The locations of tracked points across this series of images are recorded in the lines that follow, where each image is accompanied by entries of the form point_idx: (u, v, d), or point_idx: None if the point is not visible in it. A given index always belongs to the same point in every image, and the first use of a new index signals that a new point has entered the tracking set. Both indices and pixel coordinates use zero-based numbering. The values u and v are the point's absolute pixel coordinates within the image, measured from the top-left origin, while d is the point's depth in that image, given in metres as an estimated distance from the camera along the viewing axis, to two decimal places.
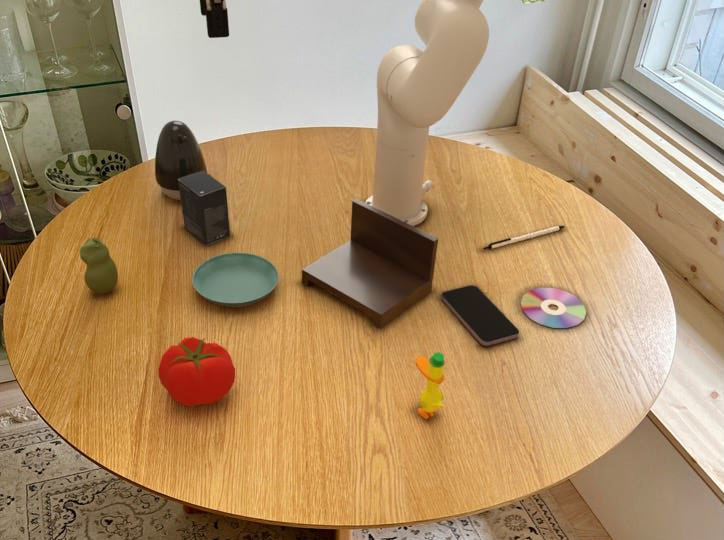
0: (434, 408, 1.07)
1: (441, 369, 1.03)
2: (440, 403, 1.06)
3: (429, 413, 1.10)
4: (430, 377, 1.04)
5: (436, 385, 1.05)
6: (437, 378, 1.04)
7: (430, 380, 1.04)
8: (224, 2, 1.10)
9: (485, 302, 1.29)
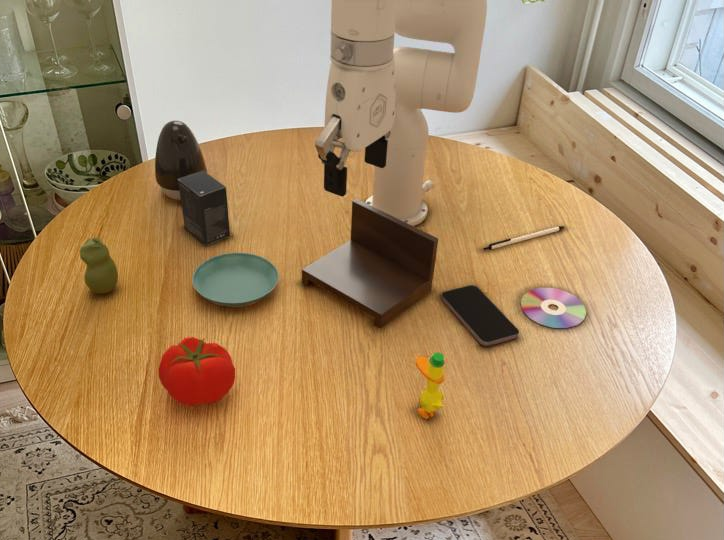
0: (434, 408, 1.07)
1: (441, 369, 1.03)
2: (440, 403, 1.06)
3: (429, 413, 1.10)
4: (430, 377, 1.04)
5: (436, 385, 1.05)
6: (437, 378, 1.04)
7: (430, 380, 1.04)
8: (339, 161, 0.94)
9: (485, 302, 1.29)
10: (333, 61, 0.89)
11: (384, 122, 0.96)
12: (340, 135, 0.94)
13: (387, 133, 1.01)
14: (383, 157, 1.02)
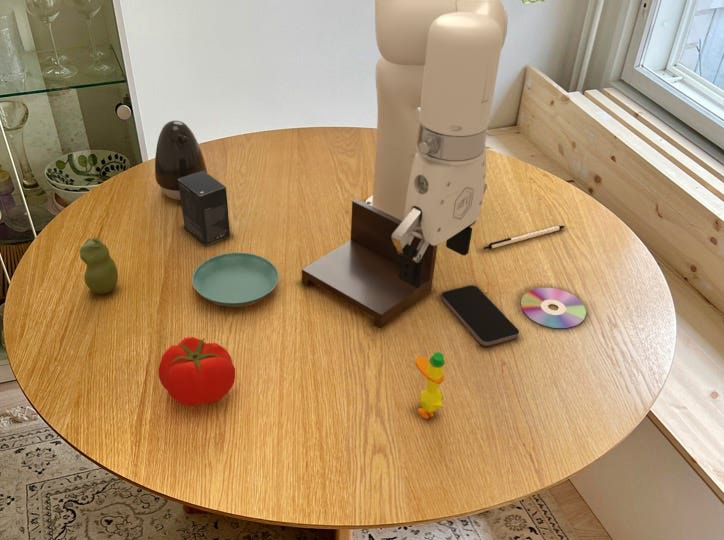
0: (434, 408, 1.07)
1: (441, 369, 1.03)
2: (440, 403, 1.06)
3: (429, 413, 1.10)
4: (430, 377, 1.04)
5: (436, 385, 1.05)
6: (437, 378, 1.04)
7: (430, 380, 1.04)
8: (416, 254, 0.87)
9: (485, 302, 1.29)
10: (419, 151, 0.83)
11: (469, 213, 0.89)
12: (420, 225, 0.88)
13: None
14: (466, 245, 0.95)
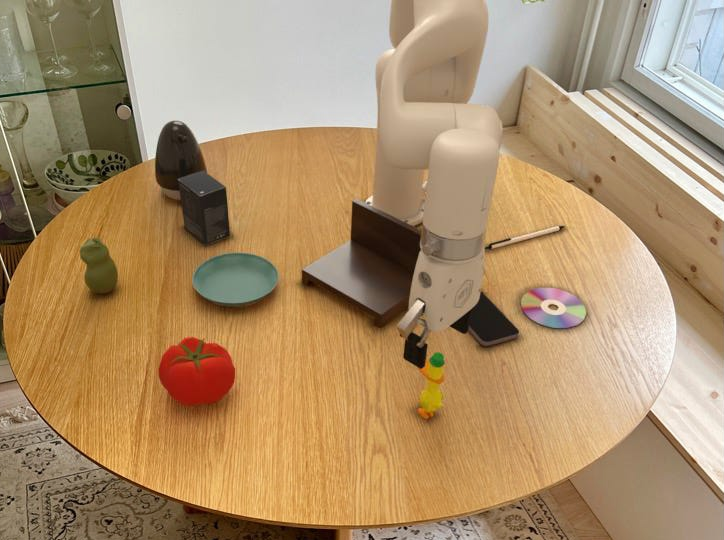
0: (434, 408, 1.07)
1: (441, 369, 1.03)
2: (440, 403, 1.06)
3: (429, 413, 1.10)
4: (430, 377, 1.04)
5: (436, 385, 1.05)
6: (437, 378, 1.04)
7: (430, 380, 1.04)
8: (420, 340, 0.94)
9: (485, 302, 1.29)
10: None
11: (469, 301, 0.95)
12: (423, 313, 0.95)
13: None
14: (466, 325, 1.02)
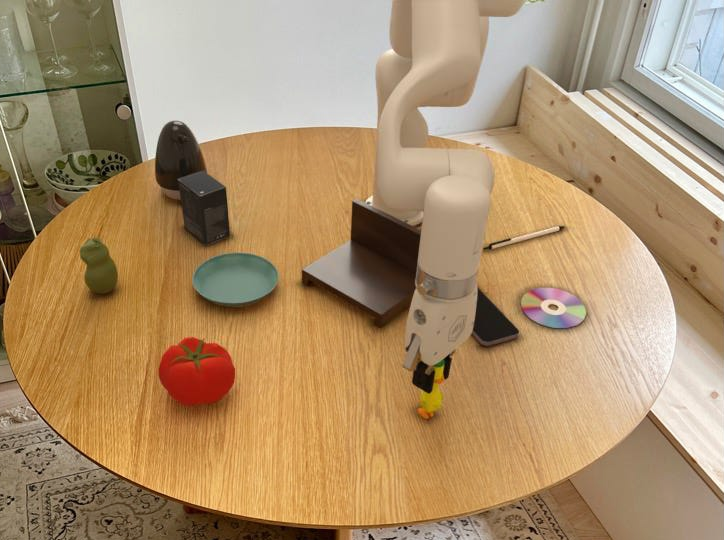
0: (434, 408, 1.07)
1: (441, 369, 1.03)
2: (440, 403, 1.06)
3: (429, 413, 1.10)
4: None
5: (436, 385, 1.05)
6: (437, 378, 1.04)
7: None
8: (427, 371, 1.00)
9: (485, 302, 1.29)
10: None
11: (462, 334, 0.99)
12: None
13: (452, 351, 1.04)
14: (446, 371, 1.05)
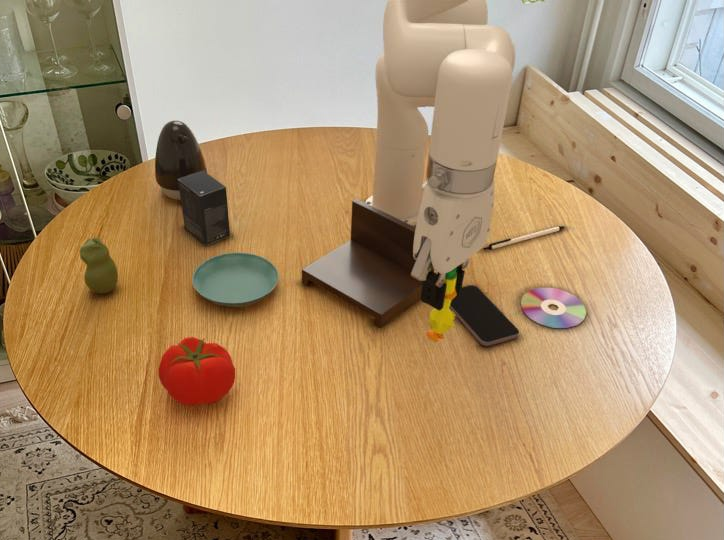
0: (445, 328, 0.98)
1: (453, 282, 0.93)
2: (451, 322, 0.97)
3: (439, 336, 1.01)
4: None
5: (447, 301, 0.95)
6: (449, 293, 0.94)
7: None
8: (437, 282, 0.91)
9: (485, 302, 1.29)
10: (428, 183, 0.84)
11: (477, 241, 0.90)
12: None
13: (465, 263, 0.94)
14: (458, 287, 0.96)
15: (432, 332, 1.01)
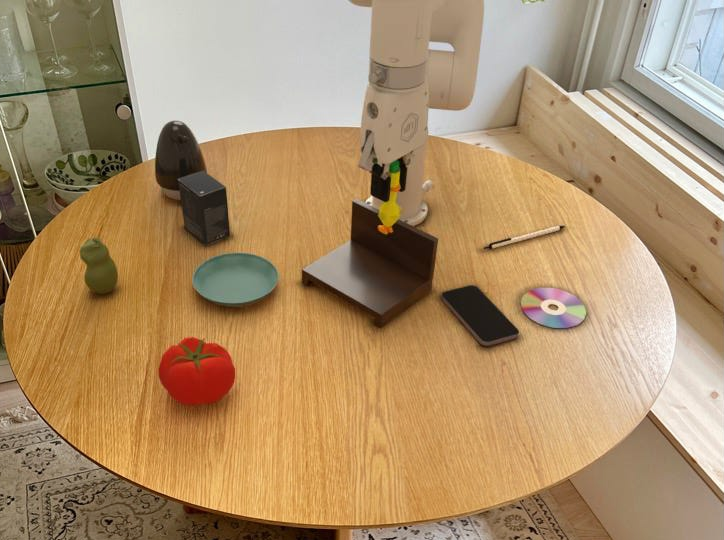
0: (392, 220, 1.13)
1: (397, 176, 1.08)
2: (397, 214, 1.12)
3: (388, 229, 1.16)
4: None
5: (393, 194, 1.10)
6: (393, 186, 1.09)
7: None
8: (382, 174, 1.06)
9: (485, 302, 1.29)
10: (370, 82, 0.98)
11: (416, 137, 1.05)
12: None
13: (407, 161, 1.09)
14: (402, 182, 1.11)
15: (382, 226, 1.16)
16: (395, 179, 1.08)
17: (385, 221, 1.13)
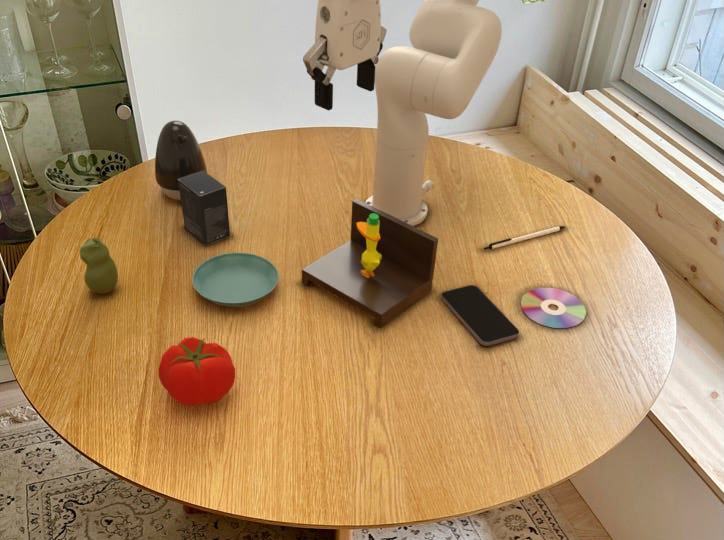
0: (373, 266, 1.26)
1: (377, 228, 1.22)
2: (378, 261, 1.25)
3: (370, 273, 1.29)
4: (368, 236, 1.23)
5: (373, 244, 1.24)
6: (374, 236, 1.23)
7: (368, 238, 1.23)
8: (325, 77, 1.09)
9: (485, 302, 1.29)
10: None
11: (368, 46, 1.11)
12: None
13: (375, 59, 1.16)
14: (371, 81, 1.17)
15: (365, 271, 1.29)
16: (375, 231, 1.22)
17: (367, 267, 1.27)
